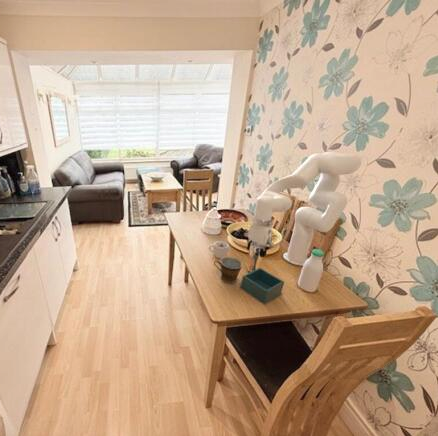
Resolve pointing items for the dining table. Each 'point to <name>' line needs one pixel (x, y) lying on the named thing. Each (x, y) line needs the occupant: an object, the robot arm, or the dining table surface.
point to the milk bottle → (311, 271)
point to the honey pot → (212, 222)
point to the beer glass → (254, 256)
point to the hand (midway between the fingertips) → (255, 252)
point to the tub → (262, 285)
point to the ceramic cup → (229, 269)
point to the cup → (219, 249)
